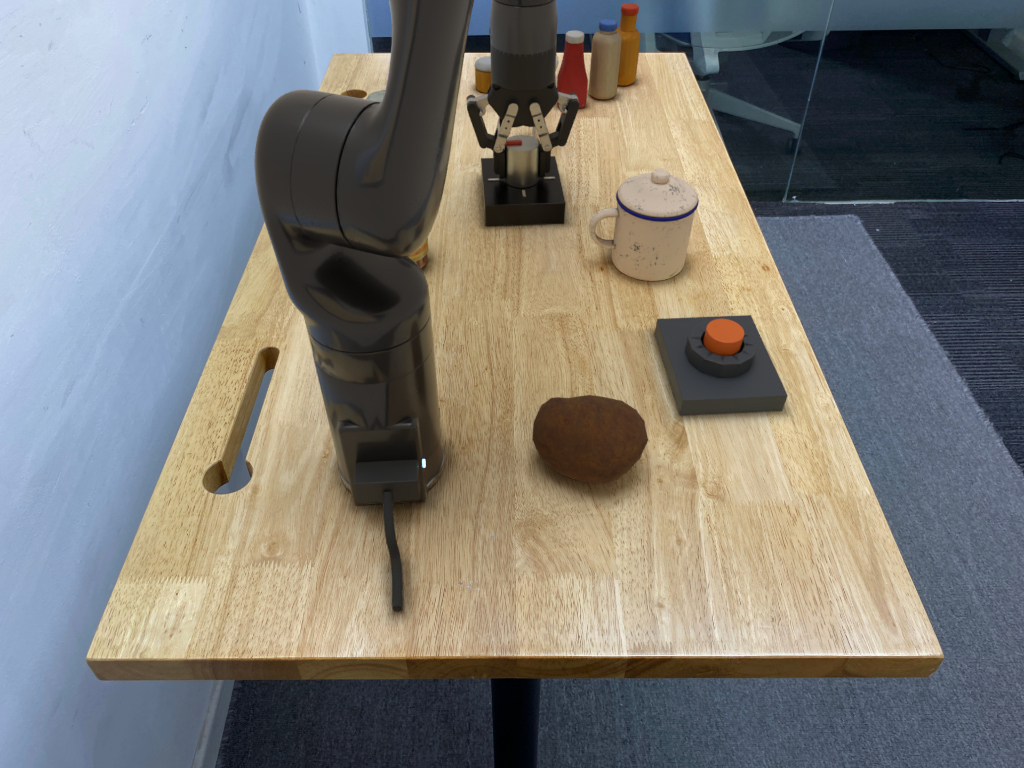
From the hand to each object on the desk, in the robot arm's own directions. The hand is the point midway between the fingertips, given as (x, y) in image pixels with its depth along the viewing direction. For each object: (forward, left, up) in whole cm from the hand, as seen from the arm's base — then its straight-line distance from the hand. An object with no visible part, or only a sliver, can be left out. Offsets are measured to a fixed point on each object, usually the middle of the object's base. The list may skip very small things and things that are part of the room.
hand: (521, 174), depth 99 cm
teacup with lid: (-15, -12, -4) cm, 20 cm away
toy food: (+33, -8, -4) cm, 34 cm away
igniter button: (-34, -17, 0) cm, 38 cm away
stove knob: (0, 0, -1) cm, 1 cm away
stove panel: (0, 0, -4) cm, 4 cm away
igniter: (-34, -17, -4) cm, 38 cm away
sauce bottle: (-13, +15, -4) cm, 20 cm away
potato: (-46, -2, -4) cm, 46 cm away
